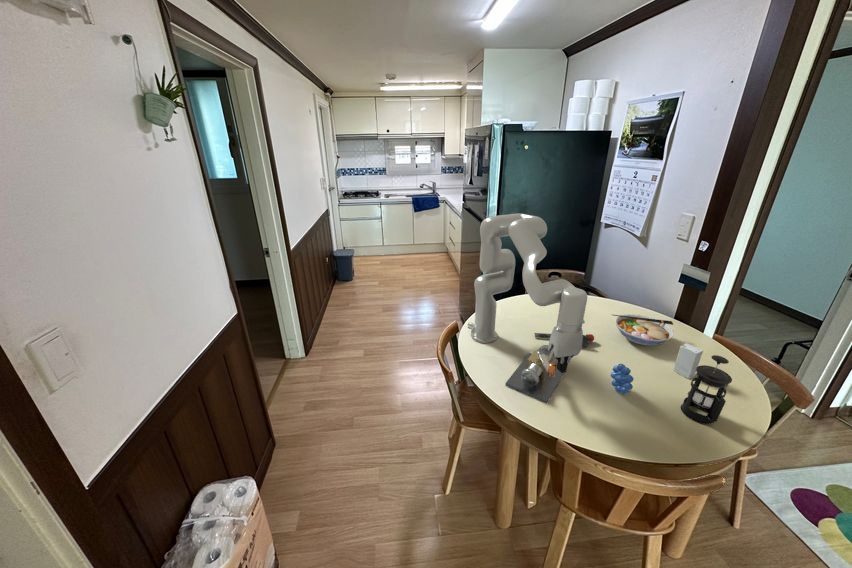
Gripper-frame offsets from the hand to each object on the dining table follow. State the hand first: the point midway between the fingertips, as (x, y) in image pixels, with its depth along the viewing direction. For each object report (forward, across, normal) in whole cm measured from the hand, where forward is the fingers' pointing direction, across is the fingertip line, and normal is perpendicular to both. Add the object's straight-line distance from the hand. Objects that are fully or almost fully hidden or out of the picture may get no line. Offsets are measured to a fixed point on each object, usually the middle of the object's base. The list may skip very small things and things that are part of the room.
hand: (561, 370), depth 115 cm
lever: (+2, +2, -7) cm, 7 cm away
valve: (+13, -26, -35) cm, 46 cm away
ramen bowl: (+13, -59, -24) cm, 65 cm away
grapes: (+13, -25, +3) cm, 28 cm away
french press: (+13, -42, +19) cm, 48 cm away
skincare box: (+13, -57, 0) cm, 58 cm away
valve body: (+13, 0, -12) cm, 18 cm away
